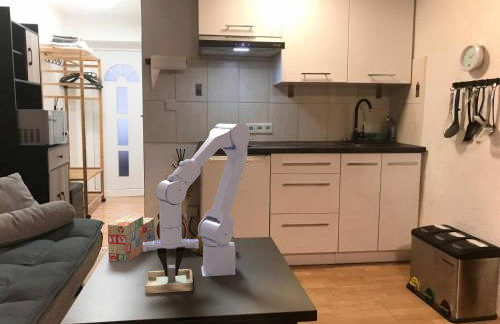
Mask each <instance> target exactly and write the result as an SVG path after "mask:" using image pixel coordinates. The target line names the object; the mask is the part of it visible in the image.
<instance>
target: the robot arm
mask: <svg viewBox="0 0 500 324" xmlns="http://www.w3.org/2000/svg"><path fill="white" fill-rule="evenodd" d="M250 138H251V134H250V132H249V130H248V128H247V126H246V125H245V124H243V123H224V122H221V123H220V122H219V123H218V124H216V125H215V126H214V128H213V129H212V130H210V132H209V136H208V137H207V139H206V140H205V141H204V142H203V144H202V145H201V146H200V147H199V148H198V150H196V152H195V153H194V155H193V156H192V157H191V159H188V158H187V159H184V160H181V161H179V163H178V166H177V168H176V169H175V170H174V171H173V172H171V174H168V176H167V179H164V180H162V181H160V182H159V183H158V185H157V186H156V189H155V190H154V195H155V198H156V199H157V201H158V206H159V209H158V210H159V212H158V213H159V214H160V219H159V221H160V240H159V239H157V240H155V241H151V242H143V252H148V251H156V254H157V257H158V259H159V261H160V263H161V265H162V266H161V267H162V268H163V271H164V272H165V277H168V266H167V265H168V263H167V262H168V259H167V258H168V253H167V251H168V250H174V251H175V255H174V256H175V262H174V265H175V276H178V271H179V270H180V266H181V263H182V260H183V259H184V256H185V254H186V249H190V248H192V249H193V248H199V241H198V239H195V238H192V239H191V238H185V239H182V217H181V210H182V202H183V201H184V200H185V198H186V196H187V192H188V189H189V188H190V187H191V185H192V184H193V183H194V182H195V180H196V179H197V178H198V177H199V176H200V175H201V172H202V171H201V168H202V167H203V165H205V163H206V162H208V160H209V159H210V158H211V157H212V156H213V155H215V153H216V152H217V151H218V150H219V149H221V150H223V152H224V153H225V155H226V156H227V159H226V162H225V165H224V169H223V171H222V175H221V179H220V182H219V185H218V188H217V191H216V194H215V197H214V201H213V204H212V207H211V208H210V209H208V210H207V211H205V213H204V216H203V218H202V219H201V220H200V222H199V224H198V226H197V232H198V233H197V234H199V235H200V236H201V237H202V241H203V255H202V265H201V267H200V268H201V275H202V277H215V276H217V277H218V276H234V275H236V265H237V264H236V244H235V241H234V242H230V240H231V239H232V236H233V235H234V225H235V220H234V218H233V216H232V214H231V212H232V208H233V204H234V201H235V198H236V194H237V192H238V188H239V184H240V181H241V178H242V175H243V171H244V168H245V165H246V162H247V158H248V145H249V141H250V140H251V139H250ZM233 237H234V236H233Z"/></svg>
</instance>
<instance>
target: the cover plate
mask: <svg viewBox="0 0 500 324" xmlns="http://www.w3.org/2000/svg"><path fill="white" fill-rule="evenodd" d="M167 269H168V277H165V276H163V277H156V285H157V284H174V283H187V279H186V275H178V276H175V264H167Z"/></svg>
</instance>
